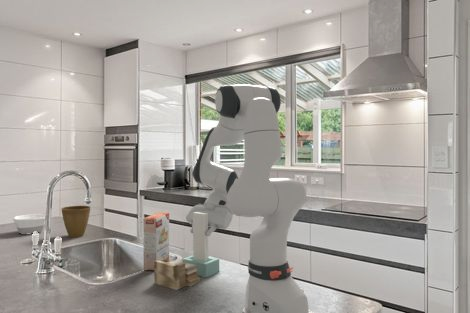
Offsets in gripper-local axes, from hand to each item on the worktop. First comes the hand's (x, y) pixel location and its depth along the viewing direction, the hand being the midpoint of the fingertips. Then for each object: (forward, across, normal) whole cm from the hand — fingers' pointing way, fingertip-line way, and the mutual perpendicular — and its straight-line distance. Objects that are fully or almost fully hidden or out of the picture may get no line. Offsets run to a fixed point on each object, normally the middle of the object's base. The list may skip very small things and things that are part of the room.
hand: (199, 234), depth 144 cm
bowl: (+14, -128, +8) cm, 129 cm away
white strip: (+8, 0, +9) cm, 12 cm away
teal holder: (+10, 0, +11) cm, 15 cm away
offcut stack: (+18, 0, +3) cm, 18 cm away
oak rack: (+21, 0, 0) cm, 21 cm away
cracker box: (+13, -20, +8) cm, 26 cm away
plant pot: (+6, -96, +15) cm, 98 cm away
